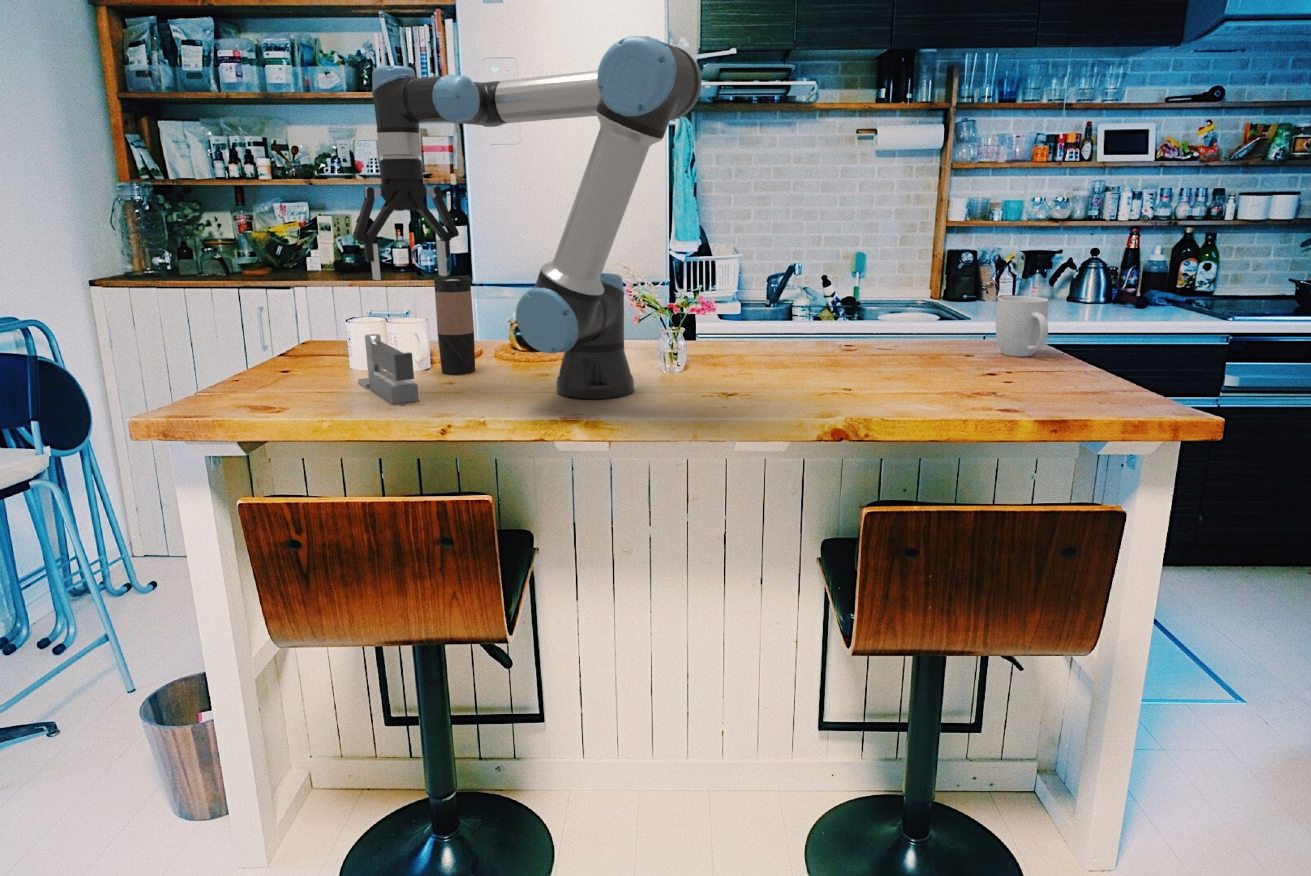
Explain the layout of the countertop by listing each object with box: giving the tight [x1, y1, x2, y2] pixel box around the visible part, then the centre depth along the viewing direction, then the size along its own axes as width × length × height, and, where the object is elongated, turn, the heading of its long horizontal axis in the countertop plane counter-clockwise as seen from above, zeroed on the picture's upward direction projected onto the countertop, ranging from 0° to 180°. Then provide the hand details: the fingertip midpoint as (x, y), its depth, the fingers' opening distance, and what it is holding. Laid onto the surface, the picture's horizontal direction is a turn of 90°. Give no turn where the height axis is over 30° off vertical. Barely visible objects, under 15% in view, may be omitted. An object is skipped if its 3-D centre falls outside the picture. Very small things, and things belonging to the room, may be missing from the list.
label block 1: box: [368, 370, 395, 398], centre depth 175 cm, size 8×5×4 cm, turn 32°
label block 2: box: [380, 377, 420, 405], centre depth 169 cm, size 8×5×4 cm, turn 32°
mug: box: [995, 295, 1050, 358], centre depth 205 cm, size 15×11×13 cm
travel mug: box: [433, 276, 476, 376], centre depth 190 cm, size 8×8×20 cm
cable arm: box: [371, 341, 415, 381], centre depth 171 cm, size 18×3×5 cm, turn 32°
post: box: [357, 333, 385, 389], centre depth 180 cm, size 6×6×10 cm
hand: (410, 277), depth 168 cm, fingers open, 12 cm apart
